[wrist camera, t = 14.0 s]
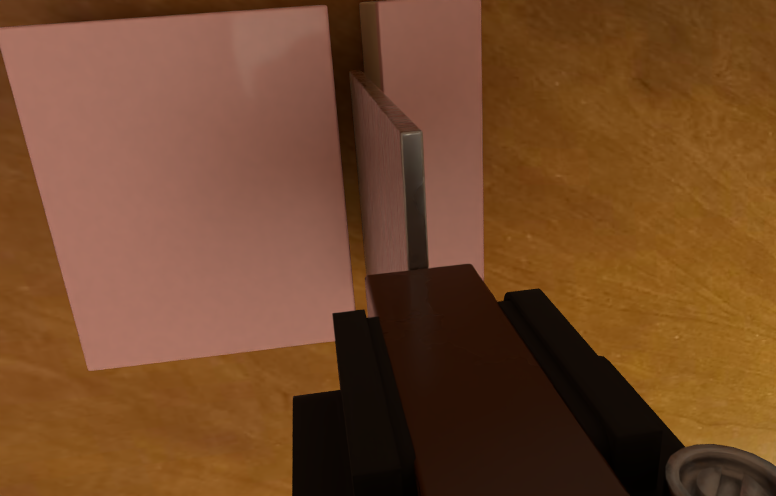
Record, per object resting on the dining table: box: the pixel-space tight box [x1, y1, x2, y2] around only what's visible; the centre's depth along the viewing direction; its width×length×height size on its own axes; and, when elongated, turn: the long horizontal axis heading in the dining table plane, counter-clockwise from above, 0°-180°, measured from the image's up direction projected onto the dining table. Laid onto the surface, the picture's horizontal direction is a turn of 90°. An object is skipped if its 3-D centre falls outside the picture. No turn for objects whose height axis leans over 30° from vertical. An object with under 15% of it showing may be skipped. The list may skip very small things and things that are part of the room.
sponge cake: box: [0, 5, 355, 371], centre depth 25 cm, size 12×10×7 cm
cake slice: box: [359, 0, 484, 281], centre depth 26 cm, size 12×3×7 cm, turn 4°
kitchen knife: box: [349, 70, 630, 496], centre depth 14 cm, size 8×2×18 cm, turn 4°
